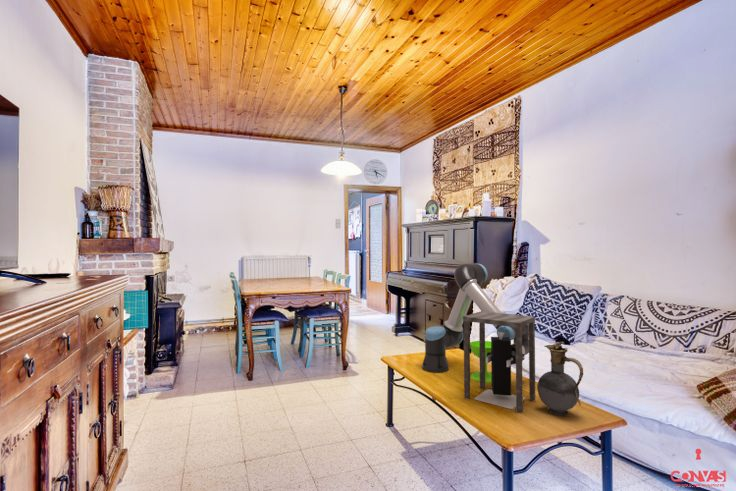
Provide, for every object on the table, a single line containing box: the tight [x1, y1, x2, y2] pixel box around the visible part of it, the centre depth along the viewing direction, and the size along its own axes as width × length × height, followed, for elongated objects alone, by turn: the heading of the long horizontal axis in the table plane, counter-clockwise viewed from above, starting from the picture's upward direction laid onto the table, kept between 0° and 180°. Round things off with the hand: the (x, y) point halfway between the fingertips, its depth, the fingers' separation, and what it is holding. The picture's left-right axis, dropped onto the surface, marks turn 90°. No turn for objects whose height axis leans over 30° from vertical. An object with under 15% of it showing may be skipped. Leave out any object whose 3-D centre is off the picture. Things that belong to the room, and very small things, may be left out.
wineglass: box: [470, 340, 492, 384], centre depth 210 cm, size 16×16×18 cm
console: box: [463, 310, 536, 414], centre depth 180 cm, size 26×20×38 cm
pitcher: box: [536, 341, 584, 417], centre depth 164 cm, size 11×19×30 cm, turn 27°
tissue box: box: [490, 332, 512, 396], centre depth 181 cm, size 8×8×28 cm
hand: (497, 362), depth 177 cm, fingers closed on tissue box, 9 cm apart
